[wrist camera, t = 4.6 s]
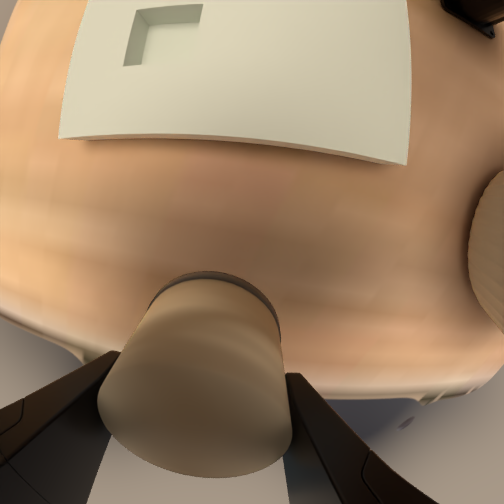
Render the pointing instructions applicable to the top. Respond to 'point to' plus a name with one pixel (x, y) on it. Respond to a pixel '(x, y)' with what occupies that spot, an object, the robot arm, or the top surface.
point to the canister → (489, 251)
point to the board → (245, 74)
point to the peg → (202, 381)
